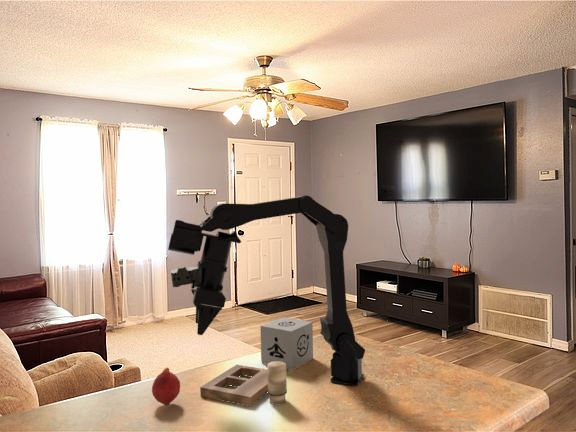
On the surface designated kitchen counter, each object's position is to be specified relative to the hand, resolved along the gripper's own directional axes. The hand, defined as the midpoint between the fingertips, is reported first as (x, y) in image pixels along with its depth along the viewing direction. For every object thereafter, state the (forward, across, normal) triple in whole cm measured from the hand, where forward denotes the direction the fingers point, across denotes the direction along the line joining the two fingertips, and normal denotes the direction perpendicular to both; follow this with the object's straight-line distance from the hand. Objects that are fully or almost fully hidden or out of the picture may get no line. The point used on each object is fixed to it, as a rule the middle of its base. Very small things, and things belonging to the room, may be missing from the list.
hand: (198, 328), depth 101 cm
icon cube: (+9, -17, +27) cm, 33 cm away
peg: (+11, +6, +19) cm, 23 cm away
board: (+12, -3, +13) cm, 18 cm away
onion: (+17, +1, -3) cm, 17 cm away
